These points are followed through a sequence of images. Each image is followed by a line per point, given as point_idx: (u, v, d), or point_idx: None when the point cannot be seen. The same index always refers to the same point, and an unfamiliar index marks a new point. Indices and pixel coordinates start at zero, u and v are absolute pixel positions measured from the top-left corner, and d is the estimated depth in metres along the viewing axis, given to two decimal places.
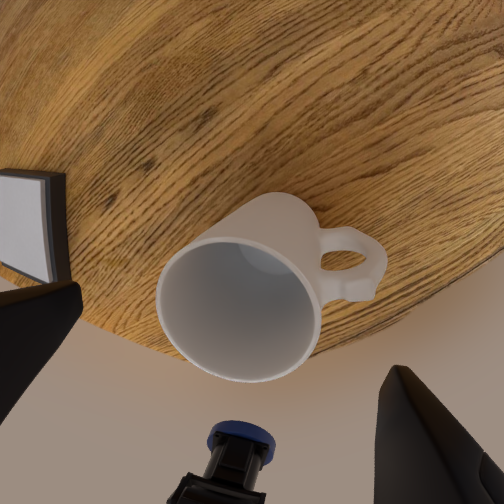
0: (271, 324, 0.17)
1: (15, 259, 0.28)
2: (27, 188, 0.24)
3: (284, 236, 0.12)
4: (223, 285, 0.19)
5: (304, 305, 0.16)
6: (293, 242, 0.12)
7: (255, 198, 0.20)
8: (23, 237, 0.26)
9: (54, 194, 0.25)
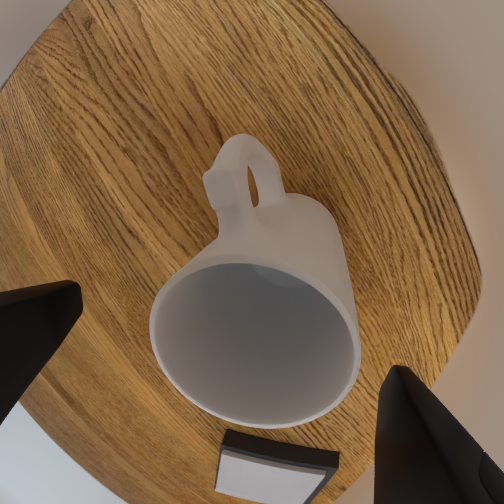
0: None
1: (297, 496, 0.27)
2: (228, 466, 0.26)
3: None
4: (311, 323, 0.15)
5: None
6: None
7: None
8: (275, 483, 0.26)
9: (240, 444, 0.26)
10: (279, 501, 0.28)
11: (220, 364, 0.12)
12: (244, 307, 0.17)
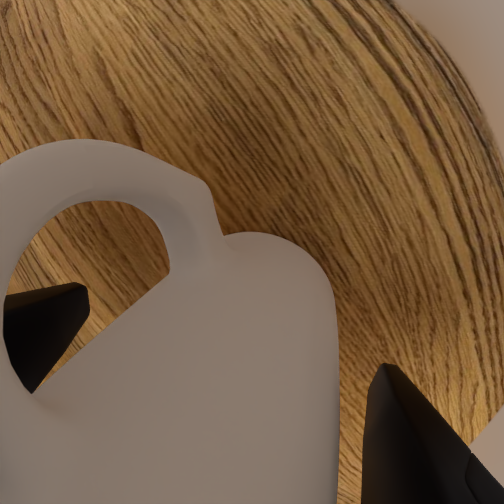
0: None
1: None
2: None
3: None
4: None
5: None
6: None
7: None
8: None
9: None
10: None
11: None
12: None
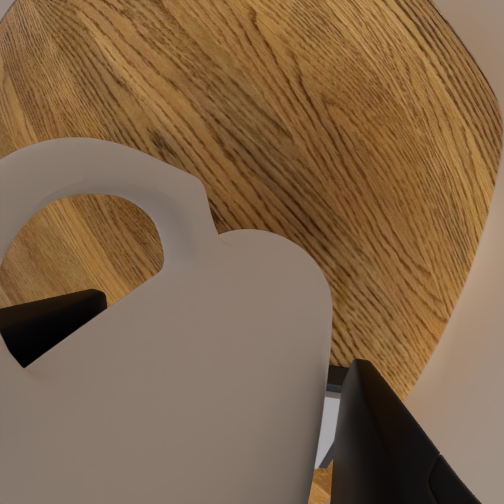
0: None
1: None
2: None
3: None
4: None
5: None
6: None
7: None
8: None
9: None
10: None
11: None
12: None
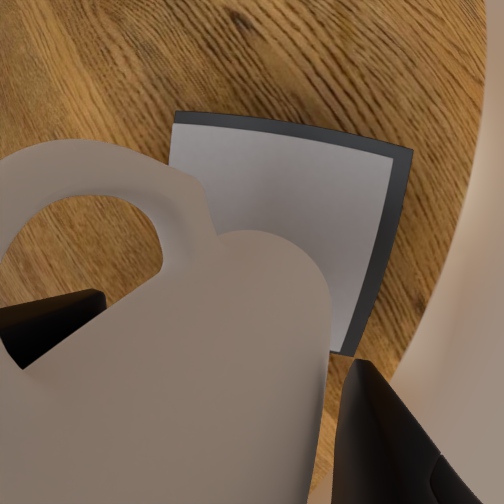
0: None
1: (340, 278, 0.15)
2: (184, 168, 0.15)
3: None
4: None
5: None
6: None
7: None
8: (287, 217, 0.15)
9: None
10: None
11: None
12: None
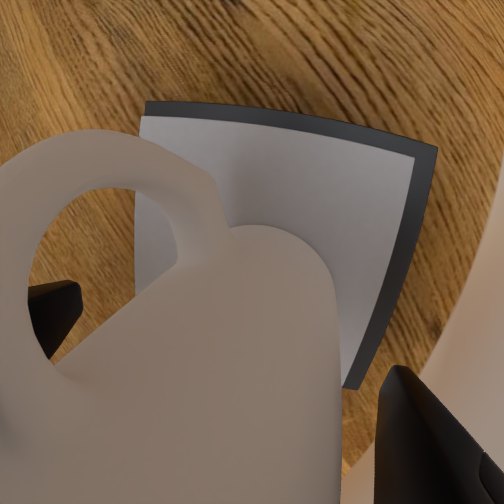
0: None
1: (345, 306, 0.12)
2: None
3: None
4: None
5: None
6: None
7: None
8: None
9: None
10: None
11: None
12: None
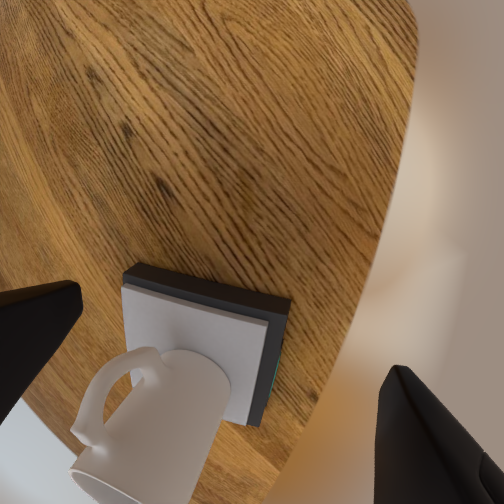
0: None
1: (237, 389, 0.22)
2: (132, 316, 0.21)
3: None
4: None
5: None
6: (85, 448, 0.13)
7: None
8: None
9: (147, 275, 0.22)
10: None
11: None
12: None
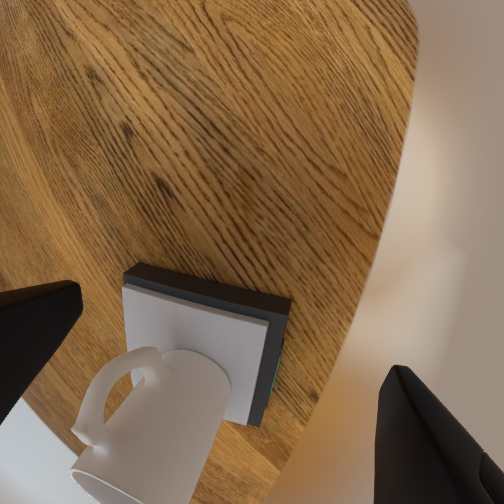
0: None
1: (237, 388, 0.22)
2: (133, 316, 0.22)
3: None
4: None
5: None
6: (86, 448, 0.13)
7: None
8: (199, 353, 0.21)
9: (147, 275, 0.22)
10: None
11: None
12: None
